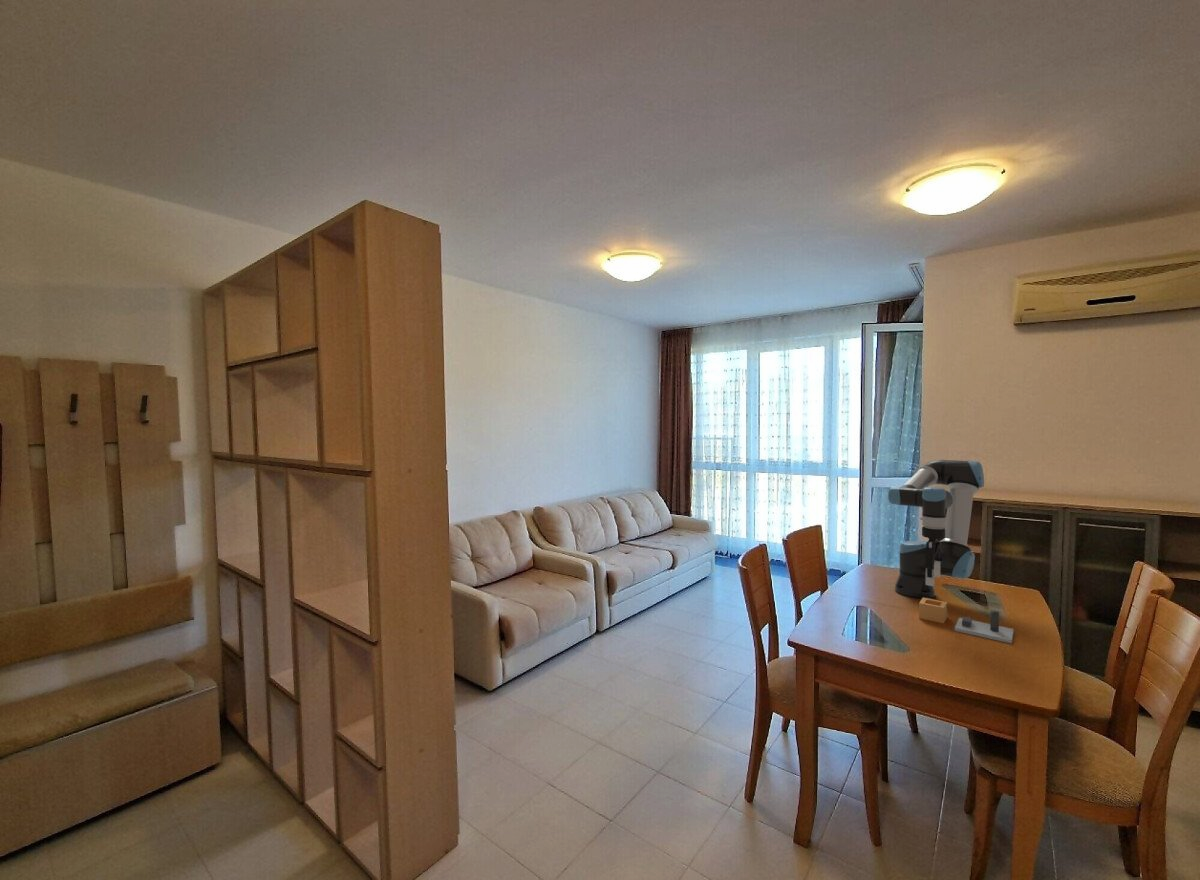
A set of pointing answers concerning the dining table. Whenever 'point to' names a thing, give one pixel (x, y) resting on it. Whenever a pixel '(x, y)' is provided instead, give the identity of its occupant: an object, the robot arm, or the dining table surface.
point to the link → (933, 610)
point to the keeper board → (985, 628)
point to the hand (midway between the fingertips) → (933, 581)
